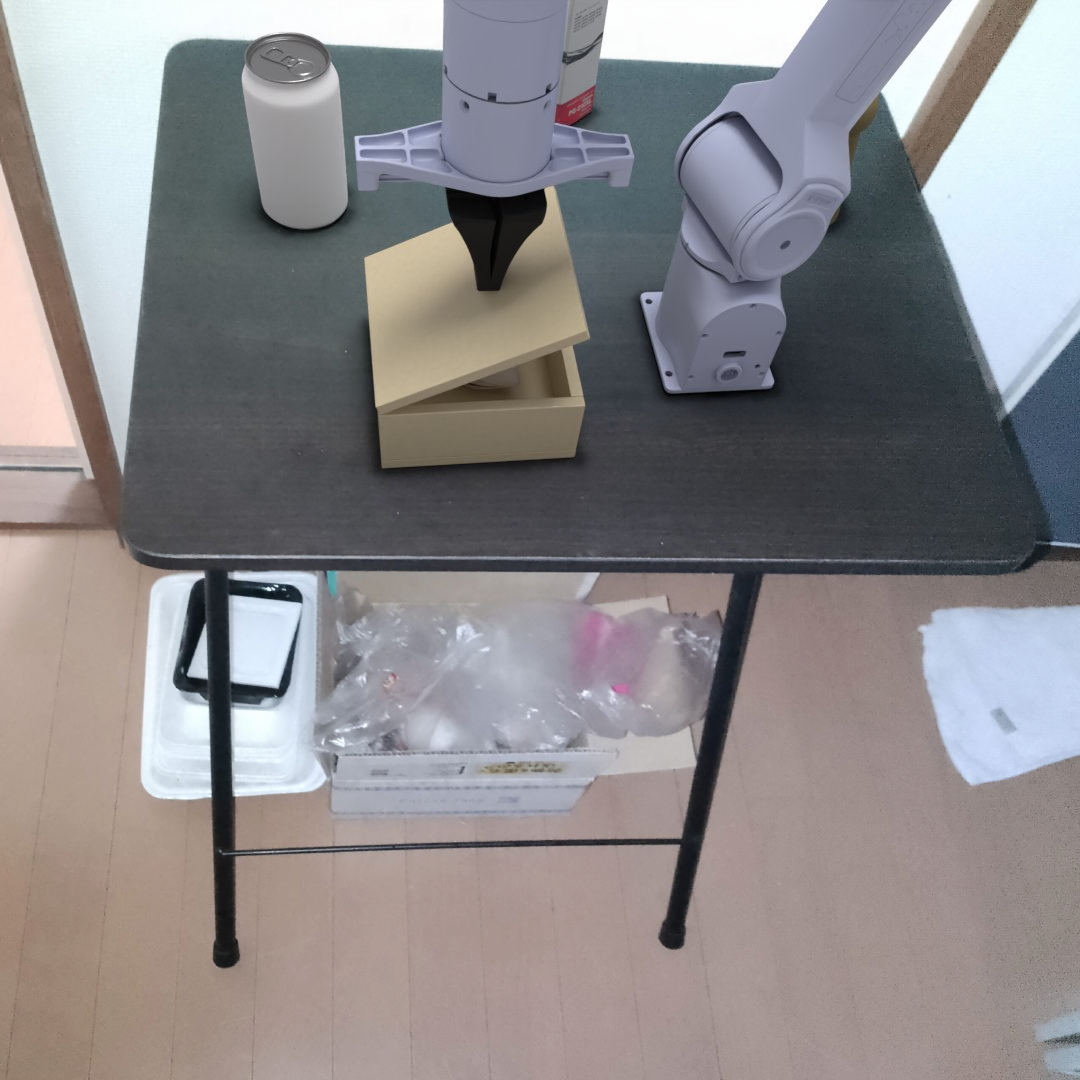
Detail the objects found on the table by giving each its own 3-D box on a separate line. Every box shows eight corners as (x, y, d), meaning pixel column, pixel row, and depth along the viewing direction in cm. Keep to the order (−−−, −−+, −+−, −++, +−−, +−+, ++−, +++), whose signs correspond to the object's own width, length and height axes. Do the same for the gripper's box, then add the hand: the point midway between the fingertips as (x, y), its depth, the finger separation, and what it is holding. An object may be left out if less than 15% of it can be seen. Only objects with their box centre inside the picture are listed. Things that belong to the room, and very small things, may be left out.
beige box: (546, 317, 72) (554, 261, 67) (574, 457, 65) (585, 405, 61) (370, 324, 70) (367, 266, 65) (381, 468, 63) (378, 416, 59)
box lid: (556, 190, 62) (552, 181, 62) (590, 339, 56) (586, 330, 55) (369, 265, 65) (363, 257, 65) (381, 415, 59) (375, 407, 58)
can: (312, 245, 73) (294, 98, 63) (243, 208, 75) (216, 58, 65) (365, 200, 77) (357, 53, 66) (299, 165, 78) (281, 16, 68)
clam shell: (477, 343, 69) (479, 316, 67) (536, 378, 68) (539, 352, 65) (439, 379, 67) (439, 353, 65) (498, 416, 65) (501, 391, 63)
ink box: (594, 112, 85) (616, -27, 75) (555, 135, 83) (573, -5, 73) (522, 65, 88) (535, -75, 78) (483, 86, 86) (491, -55, 76)
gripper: (631, 21, 51) (593, 230, 62) (345, 18, 49) (360, 235, 60) (659, 106, 47) (614, 312, 59) (352, 107, 45) (367, 320, 57)
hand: (487, 279), depth 59 cm, fingers closed
